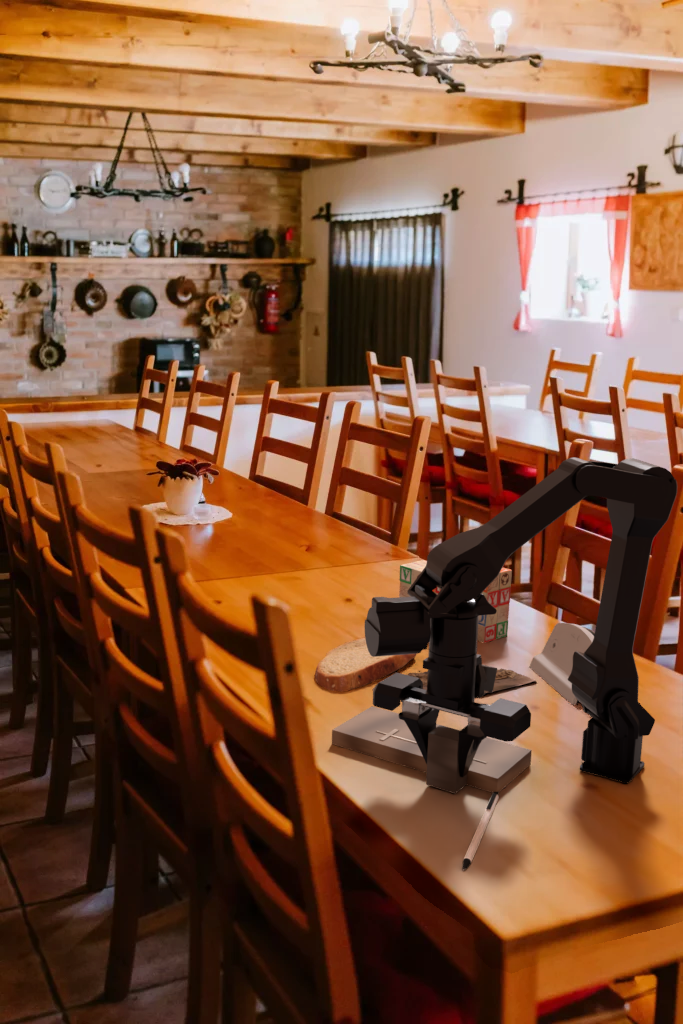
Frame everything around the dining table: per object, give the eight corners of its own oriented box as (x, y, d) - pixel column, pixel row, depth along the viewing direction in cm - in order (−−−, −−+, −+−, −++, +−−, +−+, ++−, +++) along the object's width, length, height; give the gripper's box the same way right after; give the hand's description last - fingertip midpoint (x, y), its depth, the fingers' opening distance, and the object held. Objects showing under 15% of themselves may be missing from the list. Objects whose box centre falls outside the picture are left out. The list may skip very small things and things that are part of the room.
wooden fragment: (525, 671, 173) (525, 664, 172) (546, 697, 162) (547, 690, 162) (365, 675, 169) (365, 669, 169) (377, 703, 159) (377, 696, 158)
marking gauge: (480, 772, 135) (483, 722, 134) (455, 793, 130) (458, 741, 128) (452, 764, 138) (454, 714, 136) (426, 784, 132) (428, 733, 130)
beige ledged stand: (528, 665, 174) (551, 608, 173) (553, 673, 176) (576, 617, 174) (573, 705, 158) (599, 643, 157) (600, 714, 160) (626, 652, 158)
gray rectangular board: (530, 764, 139) (531, 749, 138) (496, 794, 131) (497, 777, 130) (371, 719, 152) (372, 705, 151) (331, 743, 143) (332, 728, 143)
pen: (500, 795, 131) (501, 786, 131) (467, 875, 113) (468, 865, 113) (493, 794, 131) (494, 785, 131) (459, 873, 114) (459, 863, 113)
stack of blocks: (397, 613, 200) (399, 548, 198) (421, 607, 204) (423, 543, 202) (484, 643, 185) (488, 574, 182) (508, 636, 189) (512, 568, 186)
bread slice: (321, 694, 161) (322, 671, 160) (302, 653, 178) (302, 631, 178) (437, 688, 165) (438, 665, 164) (407, 649, 182) (408, 627, 181)
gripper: (552, 647, 130) (544, 767, 133) (417, 618, 140) (412, 730, 143) (514, 674, 121) (506, 802, 124) (372, 640, 131) (368, 760, 134)
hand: (447, 771), depth 132 cm, fingers closed on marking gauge, 4 cm apart
